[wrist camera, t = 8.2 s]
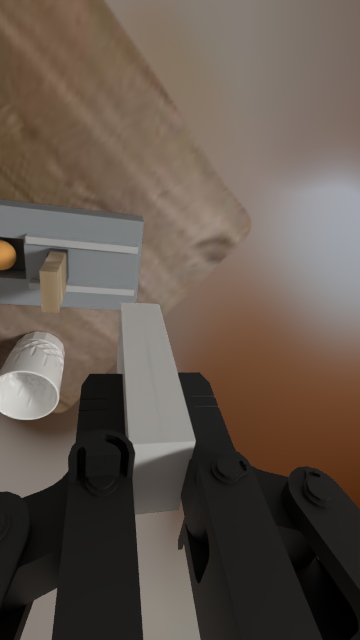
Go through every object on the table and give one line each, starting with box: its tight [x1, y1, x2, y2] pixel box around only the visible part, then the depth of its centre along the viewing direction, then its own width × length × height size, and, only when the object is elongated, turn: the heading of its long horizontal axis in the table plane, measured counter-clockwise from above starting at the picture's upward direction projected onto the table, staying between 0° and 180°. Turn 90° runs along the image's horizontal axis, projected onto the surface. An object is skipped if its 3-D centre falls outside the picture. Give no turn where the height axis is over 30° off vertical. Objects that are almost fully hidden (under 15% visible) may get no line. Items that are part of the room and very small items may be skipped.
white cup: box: [0, 331, 65, 420], centre depth 44 cm, size 8×8×10 cm
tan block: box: [40, 248, 69, 313], centre depth 36 cm, size 2×4×8 cm, turn 171°
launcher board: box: [0, 199, 144, 310], centre depth 40 cm, size 20×12×4 cm, turn 81°
